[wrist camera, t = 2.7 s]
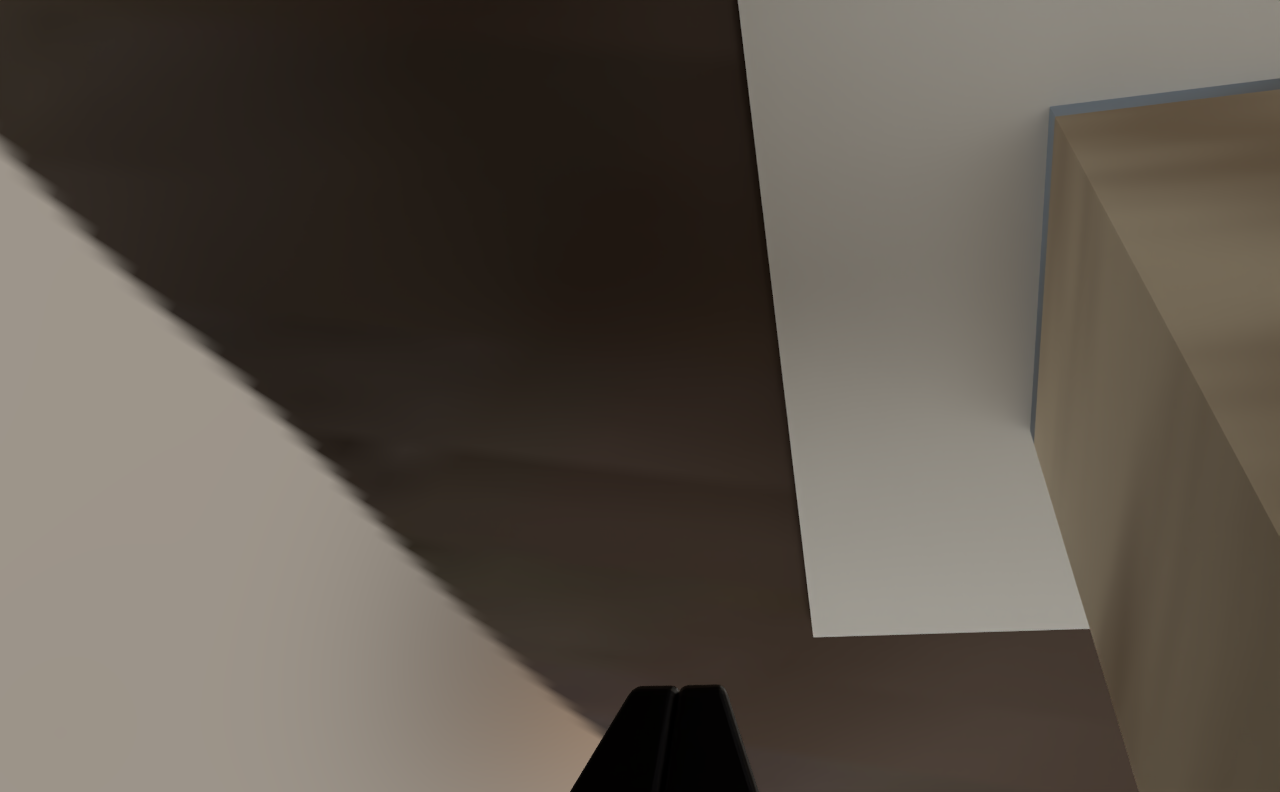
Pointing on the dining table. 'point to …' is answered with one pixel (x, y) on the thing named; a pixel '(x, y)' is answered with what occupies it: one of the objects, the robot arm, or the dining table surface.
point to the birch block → (1170, 417)
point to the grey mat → (938, 277)
